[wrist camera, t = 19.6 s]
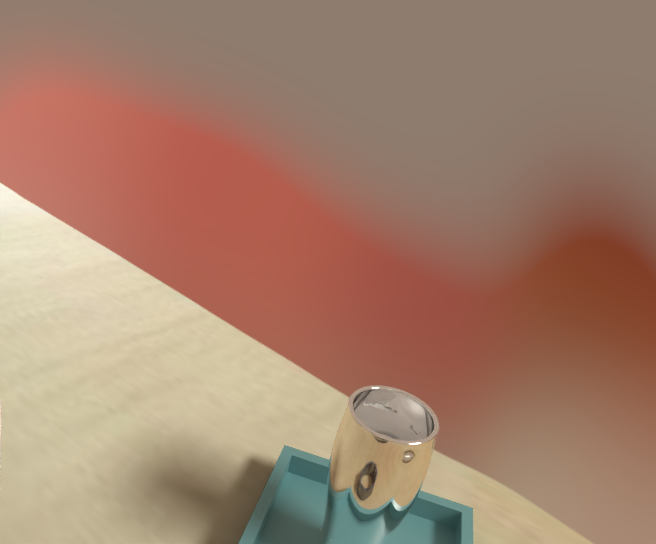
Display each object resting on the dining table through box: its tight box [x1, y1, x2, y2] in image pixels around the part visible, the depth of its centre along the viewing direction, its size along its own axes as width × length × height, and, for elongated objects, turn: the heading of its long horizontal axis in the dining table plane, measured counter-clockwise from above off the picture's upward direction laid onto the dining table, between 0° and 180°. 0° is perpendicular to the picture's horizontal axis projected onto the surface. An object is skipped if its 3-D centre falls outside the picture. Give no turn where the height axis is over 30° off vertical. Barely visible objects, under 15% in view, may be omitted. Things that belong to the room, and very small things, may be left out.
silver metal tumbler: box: [312, 386, 439, 544], centre depth 44 cm, size 7×7×15 cm
